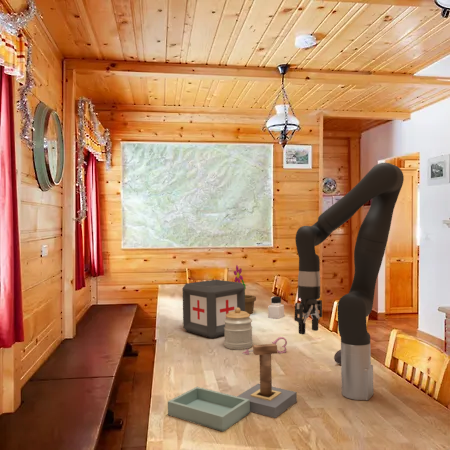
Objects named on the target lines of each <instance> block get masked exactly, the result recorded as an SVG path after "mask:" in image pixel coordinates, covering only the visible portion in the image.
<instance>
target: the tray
mask: <svg viewBox="0 0 450 450" xmlns="http://www.w3.org/2000/svg"><path fill="white" fill-rule="evenodd" d="M237 396H238V395H234V394H233V395H232V394H229V393H223V392H220V391H216V390H212V389H208V388H204V387H199V386H196V387H194V388H192V389H189V390H187V391H186V392H184V393H181V394H179V395H178V396H176V397H174V398H172V399H169V400H168V401H167V415H168V416H171V417H174V418H177V419H180V420H184V421H186V422H191V423H192V424H193V423H194V424H196V425H200V426H203V427H206V428H210V429H213V430H216V431H219V432H222V433H224V432H225V431H227V429H229V428H231V427H232V426H233V425H236V423H238V422H239V421H241V420H242V419H243V418H245V417H246V416H248V415H249V414H251V412H250V400H249V399H245V398H241V397H237Z"/></svg>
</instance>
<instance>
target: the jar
mask: <svg viewBox="0 0 450 450" xmlns="http://www.w3.org/2000/svg"><path fill="white" fill-rule="evenodd" d="M250 317H251V315H250V314H248V313H247V312H245V311H241V310H240V308H238V307H237V308H235V311H231V312H229V313H228V314H226V319H225V320H224V322H225V327H224V336H223V337H224V340H223V343H224V347H225V348H227V349H229V350H239V351H241V350H247V349H250V348H253V341H254V340H253V326H252V322H253V319H252V317H251V318H250Z"/></svg>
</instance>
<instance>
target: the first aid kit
mask: <svg viewBox="0 0 450 450" xmlns="http://www.w3.org/2000/svg"><path fill="white" fill-rule="evenodd" d="M245 295H246V289H245V287H244V285H243V283H242V282H240V283H238V281H237V282H235V281H231V280H229V281H228V280H222V279H211V280H210V279H209V280H202V281H196V282H188V283H185V284H184V285H183V287H182V325H183V327H182V328H183V330H185V331H186V332H188V333H191V334H194V333H195V334H194V335H199V336H202V337H205V338H208V339H216V338H219V337H225V336H224V327H225V322H224V320H225V319H226V314H228V313H229V312H231V311H235V308H237V307H238V308H240V310H241V311H245Z"/></svg>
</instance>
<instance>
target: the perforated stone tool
mask: <svg viewBox="0 0 450 450" xmlns="http://www.w3.org/2000/svg"><path fill="white" fill-rule="evenodd" d="M333 359H334V362H335V363H336V364H338V365H341V349H339V350H338V351H336V352H335V353H334V356H333Z"/></svg>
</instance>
